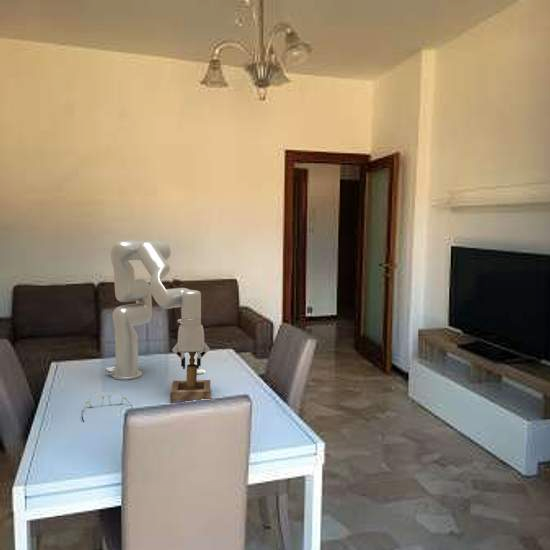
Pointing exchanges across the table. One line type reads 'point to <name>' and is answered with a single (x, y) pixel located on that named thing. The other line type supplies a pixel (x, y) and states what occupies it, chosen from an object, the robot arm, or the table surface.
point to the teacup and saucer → (200, 370)
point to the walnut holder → (189, 391)
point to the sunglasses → (103, 399)
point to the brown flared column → (191, 374)
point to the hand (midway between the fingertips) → (191, 367)
